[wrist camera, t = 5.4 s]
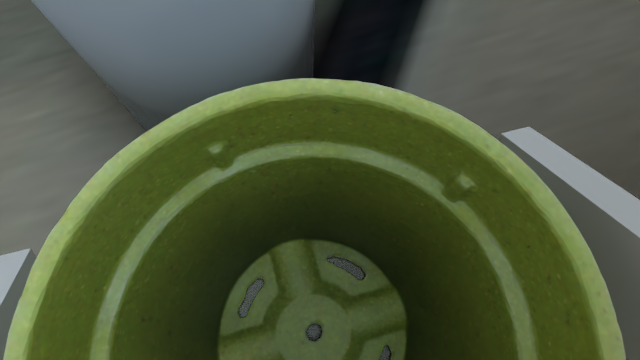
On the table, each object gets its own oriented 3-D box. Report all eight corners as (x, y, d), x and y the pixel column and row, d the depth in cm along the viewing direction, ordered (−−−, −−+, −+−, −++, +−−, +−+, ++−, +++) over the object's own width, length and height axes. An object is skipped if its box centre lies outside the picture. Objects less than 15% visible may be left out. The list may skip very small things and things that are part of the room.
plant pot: (387, 561, 14) (510, 932, 6) (107, 409, 15) (-149, 534, 6) (498, 266, 16) (699, 219, 8) (250, 150, 17) (197, -4, 9)
